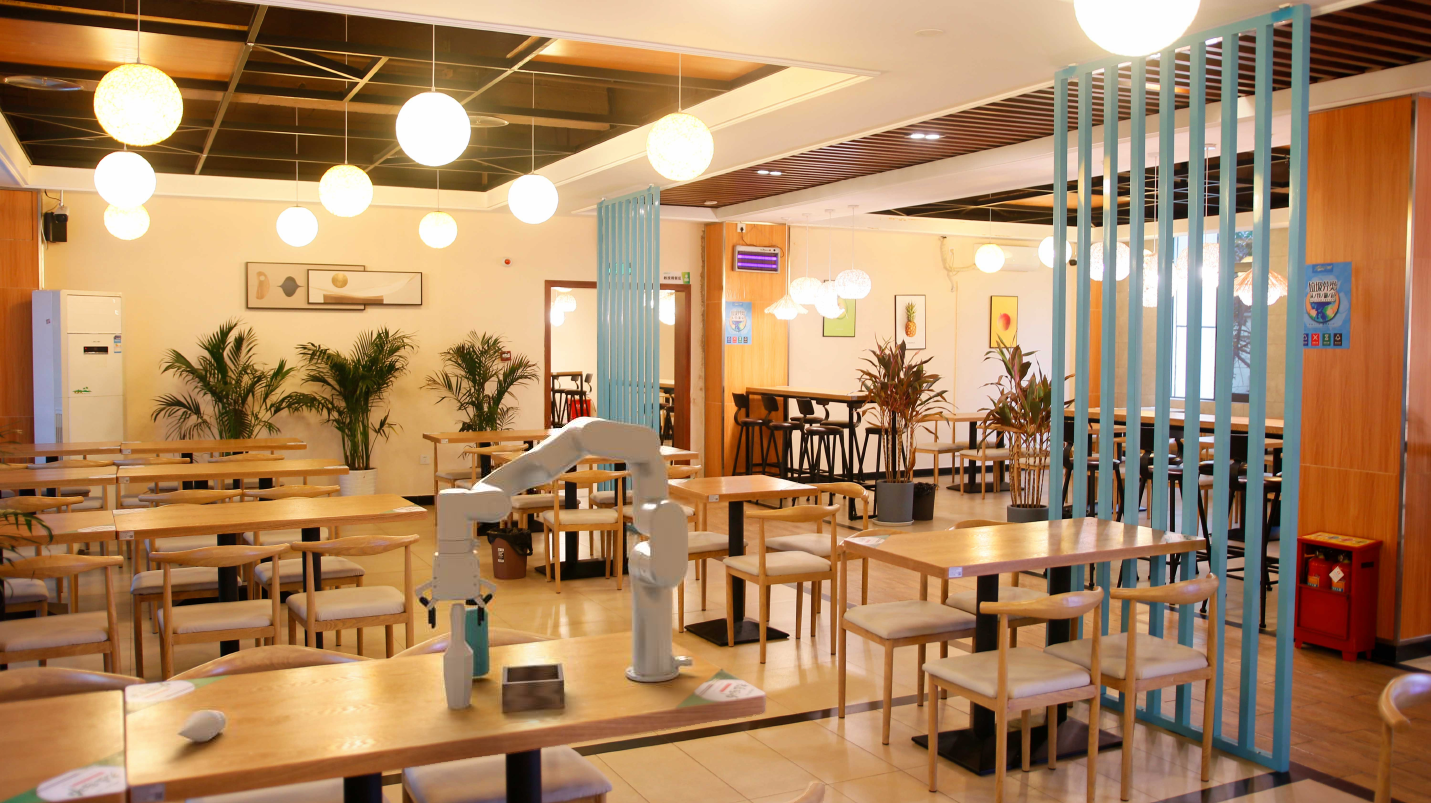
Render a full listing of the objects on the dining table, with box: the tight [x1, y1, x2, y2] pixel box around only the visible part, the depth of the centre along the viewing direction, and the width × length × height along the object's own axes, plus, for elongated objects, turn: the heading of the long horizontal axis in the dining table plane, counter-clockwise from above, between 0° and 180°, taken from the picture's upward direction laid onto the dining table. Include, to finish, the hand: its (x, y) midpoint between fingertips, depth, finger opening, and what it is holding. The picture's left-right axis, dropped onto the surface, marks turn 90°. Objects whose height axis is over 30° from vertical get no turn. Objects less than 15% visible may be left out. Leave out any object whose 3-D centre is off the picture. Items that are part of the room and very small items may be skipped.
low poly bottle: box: [442, 602, 474, 710], centre depth 220 cm, size 6×6×22 cm
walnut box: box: [501, 662, 565, 713], centre depth 223 cm, size 13×13×6 cm
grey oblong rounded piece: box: [177, 709, 227, 743], centre depth 198 cm, size 6×6×15 cm
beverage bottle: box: [465, 593, 491, 678], centre depth 238 cm, size 6×7×20 cm
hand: (456, 625), depth 219 cm, fingers open, 9 cm apart
